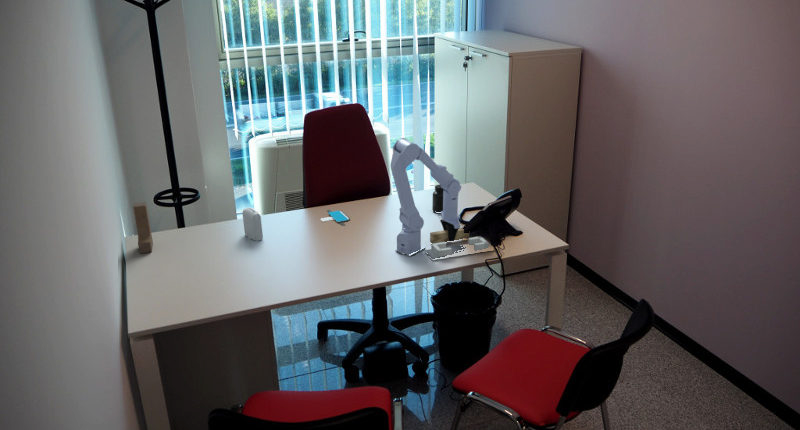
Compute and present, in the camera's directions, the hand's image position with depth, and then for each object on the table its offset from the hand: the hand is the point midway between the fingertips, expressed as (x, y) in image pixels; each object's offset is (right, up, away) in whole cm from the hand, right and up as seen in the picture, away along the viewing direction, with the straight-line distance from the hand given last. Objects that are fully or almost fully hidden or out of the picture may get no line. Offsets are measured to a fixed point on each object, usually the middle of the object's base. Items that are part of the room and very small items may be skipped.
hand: (449, 238), depth 256 cm
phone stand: (-49, +7, +25) cm, 56 cm away
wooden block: (-121, -4, -3) cm, 121 cm away
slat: (0, -2, +1) cm, 2 cm away
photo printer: (-80, 0, +7) cm, 81 cm away
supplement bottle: (-2, +11, +32) cm, 33 cm away
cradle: (+3, -5, -8) cm, 10 cm away
